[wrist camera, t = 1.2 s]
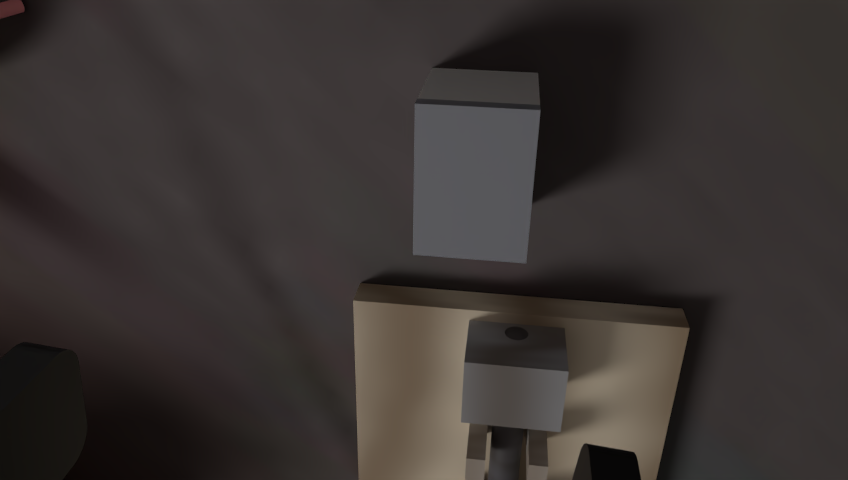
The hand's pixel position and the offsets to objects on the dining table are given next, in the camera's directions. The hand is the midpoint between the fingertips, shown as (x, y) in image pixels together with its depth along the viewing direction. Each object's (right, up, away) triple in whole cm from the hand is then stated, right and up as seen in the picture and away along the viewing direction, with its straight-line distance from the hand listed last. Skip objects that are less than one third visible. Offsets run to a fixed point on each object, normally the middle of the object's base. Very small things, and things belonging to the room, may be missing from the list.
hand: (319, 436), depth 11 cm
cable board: (+5, -13, +27) cm, 30 cm away
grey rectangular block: (+4, +7, +17) cm, 19 cm away
